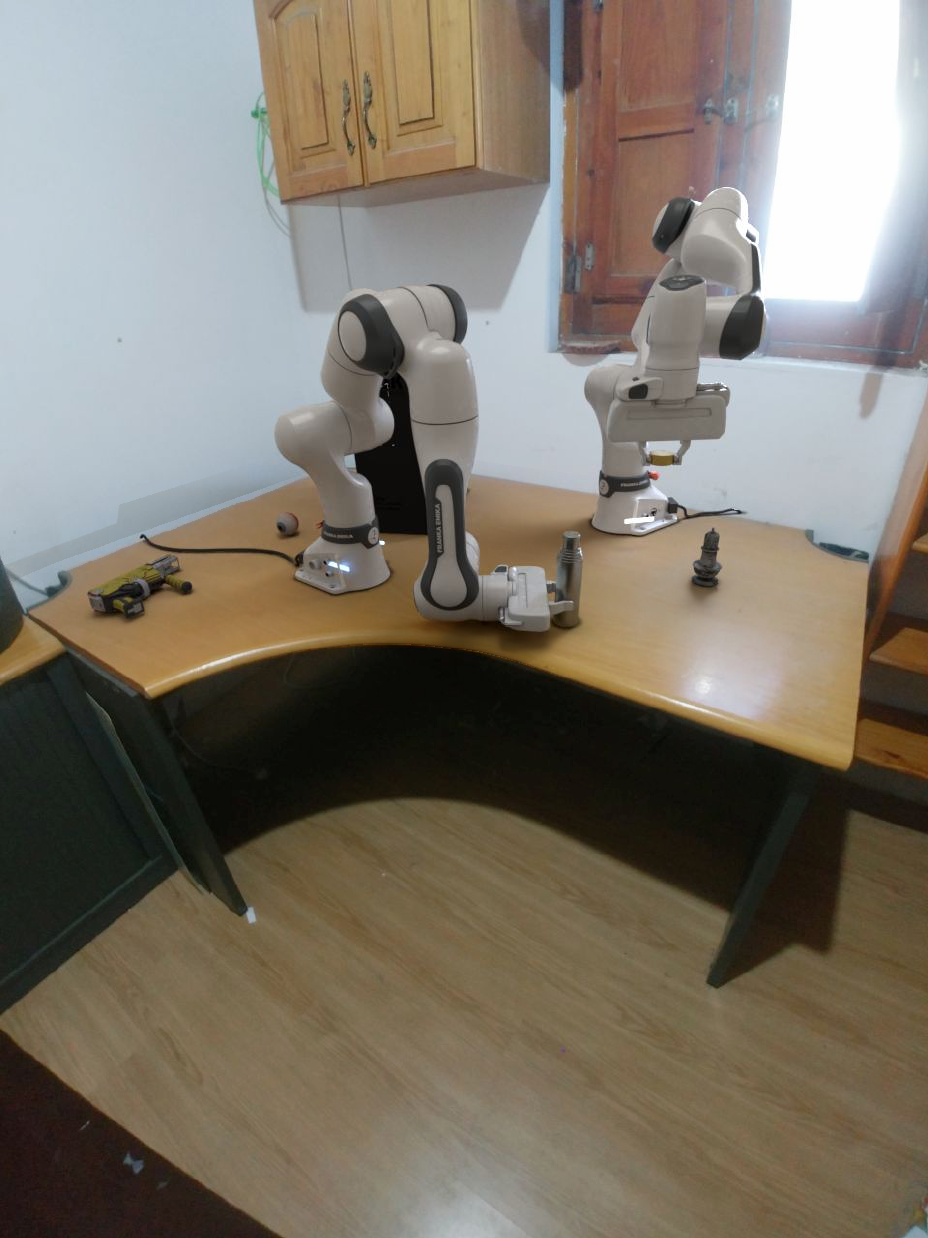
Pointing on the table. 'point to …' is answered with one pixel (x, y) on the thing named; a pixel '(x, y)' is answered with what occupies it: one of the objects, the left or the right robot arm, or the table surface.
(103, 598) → the toy gun
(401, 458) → the black box
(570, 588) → the bottle
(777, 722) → the table surface
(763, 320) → the right robot arm
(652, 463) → the cap
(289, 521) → the eyeball
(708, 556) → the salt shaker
